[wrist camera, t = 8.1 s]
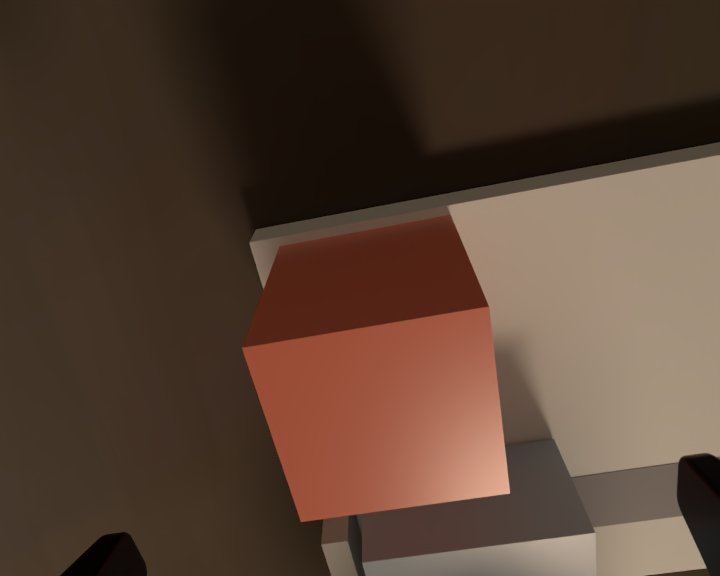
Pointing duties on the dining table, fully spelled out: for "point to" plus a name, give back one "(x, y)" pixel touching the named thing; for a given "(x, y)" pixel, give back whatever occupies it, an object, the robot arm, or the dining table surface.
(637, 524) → the panel
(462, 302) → the cap
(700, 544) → the robot arm
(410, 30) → the dining table surface
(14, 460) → the dining table surface
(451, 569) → the breaker toggle
